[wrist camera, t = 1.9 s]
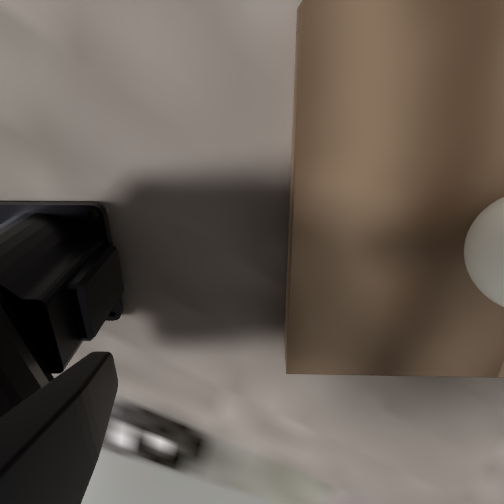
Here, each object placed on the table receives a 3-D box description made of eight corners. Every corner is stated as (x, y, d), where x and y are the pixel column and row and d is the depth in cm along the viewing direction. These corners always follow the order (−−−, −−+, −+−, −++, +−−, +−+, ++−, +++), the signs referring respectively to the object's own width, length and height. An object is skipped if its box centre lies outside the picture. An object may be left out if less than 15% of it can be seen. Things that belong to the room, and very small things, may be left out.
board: (284, 342, 22) (286, 374, 20) (297, 9, 15) (303, -1, 13) (611, 346, 21) (652, 380, 19) (782, 4, 14) (879, -7, 12)
